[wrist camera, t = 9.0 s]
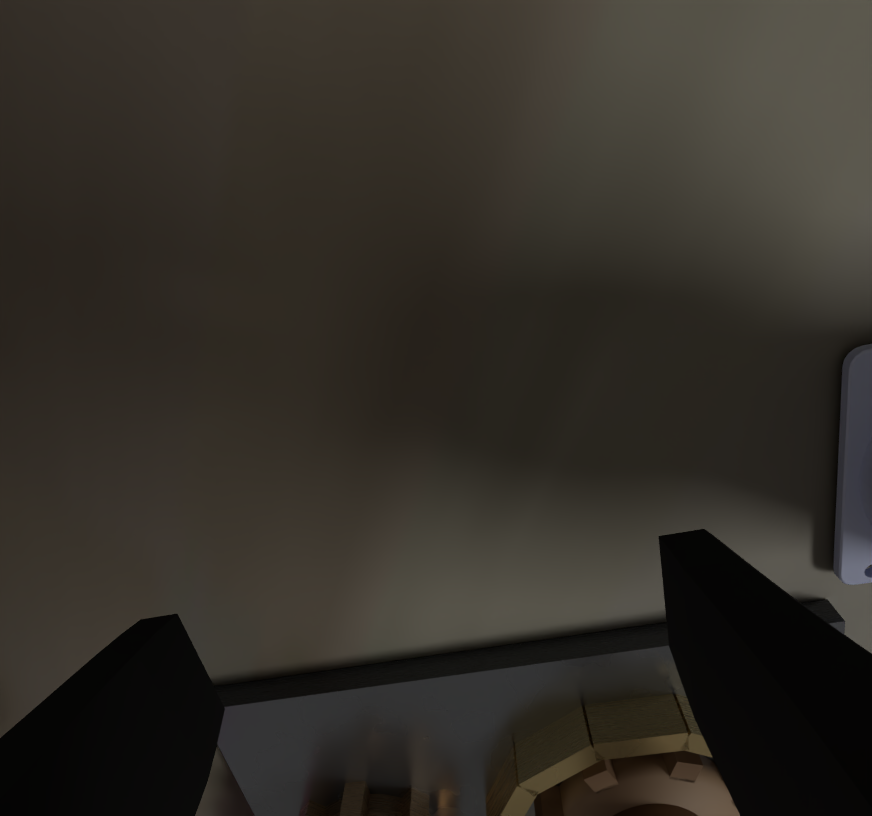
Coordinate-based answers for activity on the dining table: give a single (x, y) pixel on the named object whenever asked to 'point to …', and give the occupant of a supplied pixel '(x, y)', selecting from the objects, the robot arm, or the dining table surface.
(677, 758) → the gear
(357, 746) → the carrier plate
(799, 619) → the robot arm
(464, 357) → the dining table surface
